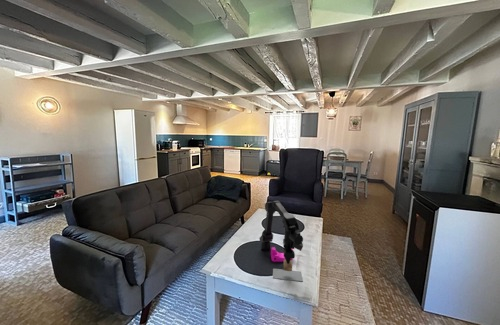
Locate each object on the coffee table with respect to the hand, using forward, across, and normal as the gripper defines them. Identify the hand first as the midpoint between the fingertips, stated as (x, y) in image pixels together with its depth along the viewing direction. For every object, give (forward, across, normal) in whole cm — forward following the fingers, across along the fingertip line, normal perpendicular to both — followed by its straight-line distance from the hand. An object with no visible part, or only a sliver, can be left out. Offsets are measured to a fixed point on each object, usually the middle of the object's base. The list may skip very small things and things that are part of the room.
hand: (287, 260), depth 128 cm
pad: (+10, 0, 0) cm, 10 cm away
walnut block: (+5, 0, 0) cm, 5 cm away
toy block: (+10, +17, +3) cm, 20 cm away
